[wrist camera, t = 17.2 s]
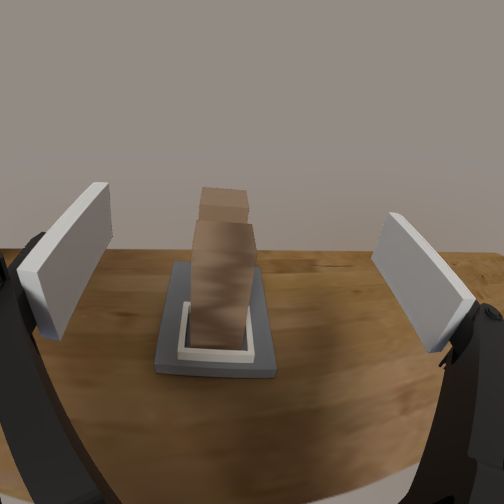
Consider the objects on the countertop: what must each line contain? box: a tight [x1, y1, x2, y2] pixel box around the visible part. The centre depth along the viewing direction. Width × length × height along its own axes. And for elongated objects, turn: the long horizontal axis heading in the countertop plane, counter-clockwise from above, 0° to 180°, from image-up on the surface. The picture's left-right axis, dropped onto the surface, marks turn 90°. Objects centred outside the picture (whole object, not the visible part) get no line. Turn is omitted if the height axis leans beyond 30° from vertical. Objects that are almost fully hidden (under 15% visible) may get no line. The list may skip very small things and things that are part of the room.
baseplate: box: [154, 187, 277, 378], centre depth 33 cm, size 12×18×14 cm, turn 4°
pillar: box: [190, 220, 257, 351], centre depth 29 cm, size 5×5×12 cm
